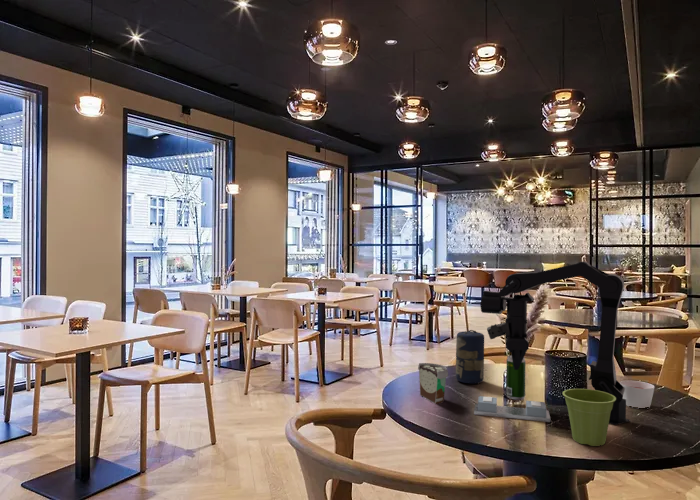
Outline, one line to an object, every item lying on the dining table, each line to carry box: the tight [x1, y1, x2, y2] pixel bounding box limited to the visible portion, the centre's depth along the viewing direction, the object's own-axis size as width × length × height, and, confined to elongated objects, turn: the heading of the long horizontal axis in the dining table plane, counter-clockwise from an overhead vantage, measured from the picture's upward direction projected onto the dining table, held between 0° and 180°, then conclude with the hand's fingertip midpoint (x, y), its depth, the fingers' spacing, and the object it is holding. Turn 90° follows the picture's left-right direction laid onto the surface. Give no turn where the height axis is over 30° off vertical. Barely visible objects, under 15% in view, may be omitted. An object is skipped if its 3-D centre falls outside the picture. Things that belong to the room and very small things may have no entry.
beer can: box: [505, 355, 527, 401], centre depth 153 cm, size 5×5×12 cm
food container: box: [417, 362, 449, 405], centre depth 158 cm, size 12×6×10 cm, turn 22°
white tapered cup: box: [619, 380, 655, 409], centre depth 154 cm, size 9×9×6 cm
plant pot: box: [562, 388, 616, 447], centre depth 125 cm, size 12×12×11 cm
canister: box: [455, 329, 485, 384], centre depth 179 cm, size 10×10×18 cm
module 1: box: [477, 395, 498, 412], centre depth 146 cm, size 5×6×3 cm
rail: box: [473, 403, 551, 423], centre depth 144 cm, size 20×7×1 cm, turn 73°
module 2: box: [525, 399, 547, 417], centre depth 143 cm, size 5×6×3 cm
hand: (516, 367), depth 153 cm, fingers closed on beer can, 5 cm apart
